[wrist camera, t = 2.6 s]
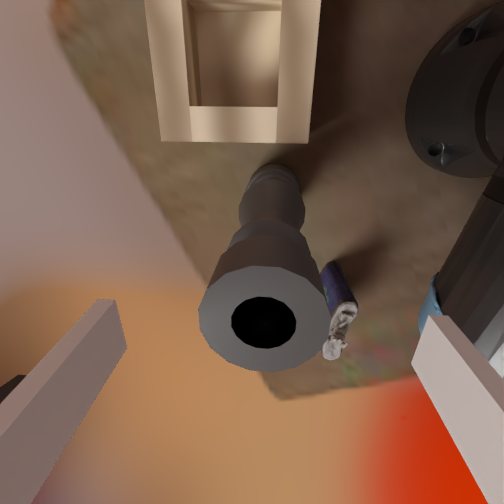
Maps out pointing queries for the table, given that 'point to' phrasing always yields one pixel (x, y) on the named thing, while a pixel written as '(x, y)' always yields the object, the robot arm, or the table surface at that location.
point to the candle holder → (267, 282)
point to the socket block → (233, 68)
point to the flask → (337, 309)
